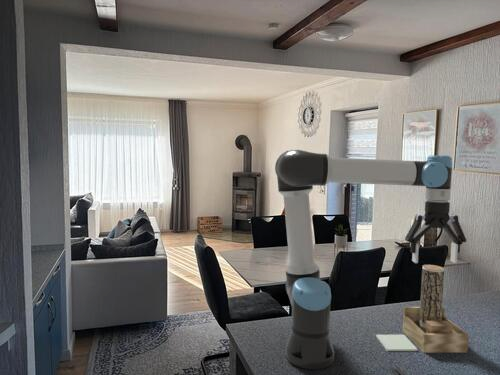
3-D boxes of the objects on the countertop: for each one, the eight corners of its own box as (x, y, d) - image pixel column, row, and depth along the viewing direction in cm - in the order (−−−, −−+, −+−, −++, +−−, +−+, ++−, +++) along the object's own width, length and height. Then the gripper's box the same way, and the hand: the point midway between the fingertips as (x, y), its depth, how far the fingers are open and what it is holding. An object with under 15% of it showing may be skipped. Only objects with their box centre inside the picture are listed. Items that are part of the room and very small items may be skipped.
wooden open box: (423, 352, 120) (424, 325, 119) (402, 330, 135) (403, 306, 134) (467, 352, 121) (469, 325, 120) (442, 330, 136) (443, 306, 135)
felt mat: (387, 351, 121) (387, 349, 121) (375, 336, 131) (375, 334, 131) (417, 351, 121) (417, 349, 121) (403, 336, 131) (403, 334, 131)
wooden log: (442, 343, 127) (447, 271, 125) (421, 340, 128) (425, 269, 126) (436, 333, 133) (441, 265, 131) (416, 331, 135) (420, 264, 133)
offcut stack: (426, 350, 122) (428, 326, 121) (420, 344, 126) (422, 320, 125) (459, 350, 122) (461, 326, 121) (452, 344, 126) (454, 320, 125)
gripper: (406, 202, 122) (403, 265, 124) (480, 202, 123) (476, 265, 125) (396, 199, 130) (394, 259, 132) (466, 199, 131) (463, 259, 133)
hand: (434, 262), depth 128 cm, fingers open, 13 cm apart
